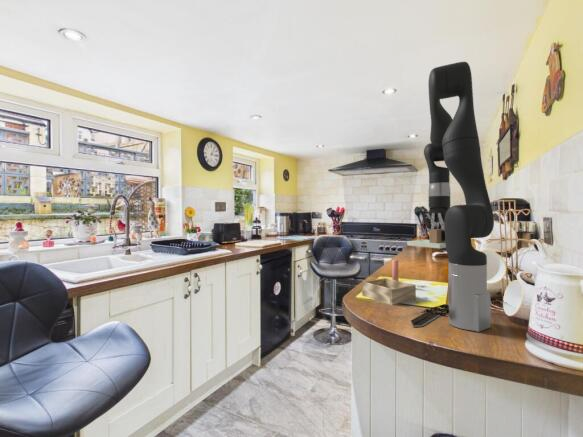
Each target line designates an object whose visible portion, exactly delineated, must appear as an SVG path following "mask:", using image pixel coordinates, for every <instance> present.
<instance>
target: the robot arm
mask: <svg viewBox="0 0 583 437" xmlns="http://www.w3.org/2000/svg"><path fill="white" fill-rule="evenodd" d="M455 97H458V98H459V99H458V100H459V102H458V106H457V109H456V112H455V114H454V116H453V117H452V115H451V114H449V112H448V111H447V110H446V109H445V108H444V106H443V105H442V104H441V100H445V99H450V98H455ZM428 99H429V100H428V101H429V102H428V103H429V104H428V105H429V113H430V136H429V140H430V143H427V144H426V145H425V147H424V149H423V156H424V159H425V161H426V165H427V170H428V208H429V210H428V212H427V213H425V214H424V213H423V214H422V215H421V216H422V219H423V221H424V225H425V226H426V229H428V230H432V229H439V228H438V227H439V225H440V227H441V228H440V229H442V231H441V240H442V241H445V242H446V248H445V250H446V251H445V252H446V254H447V257H448V305H449V313H448V323H449V324H450V326H452V327H456V328H458V329H462V330H466V331H473V332H474V331H475V332H483V331H484V330H487V329H490V328H491V327H492V325H491V321H492V320H491V311H492V309H491V307H492V304H491V292H489V291H488V288H487V287H488V268H487V267H488V264H487V263H488V257H487V254H486V253H485V252H483V251H480V250H477V249H476V248H474V246H473V243H472V239H480V238H481V239H483V238H486V237H488V236H490V235H491V233H492V232H493V230H494V226H495V217H494V212H493V207H492V204H491V200H490V196H489V193H488V189H487V185H486V179H485V173H484V168H483V162H482V155H481V154H482V152H481V145H480V144H481V143H480V139H479V132H478V128H477V122H476V121H477V120H476V115H475V107H474V93H473V79H472V70H471V67H470V64H469V63H468V62H467V61H459V62H458V61H457V62H453V63H450V64H445V65H440V66H437V67H436V66H435V67H434V68H432V69H431V70H430V72H429V75H428ZM435 162H444V164H445V166H446V167H445V166H439V165H436V163H435ZM450 174H451V175H452V176H453V178H454V179H455V181H457V183H458V184H459V186H460V188H461V191H462V192H463V196H464V199H465V204H456V205H451V184H450V182H451V181H450Z"/></svg>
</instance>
